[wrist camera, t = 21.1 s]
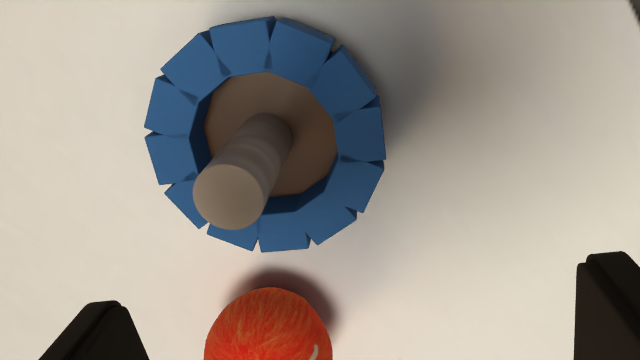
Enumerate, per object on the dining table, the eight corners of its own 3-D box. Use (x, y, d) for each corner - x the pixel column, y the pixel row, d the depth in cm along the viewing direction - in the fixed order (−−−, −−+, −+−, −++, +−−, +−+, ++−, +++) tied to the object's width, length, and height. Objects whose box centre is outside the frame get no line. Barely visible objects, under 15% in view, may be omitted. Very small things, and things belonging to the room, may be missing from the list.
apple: (309, 255, 32) (291, 310, 24) (351, 356, 33) (347, 440, 25) (206, 291, 33) (157, 354, 25) (250, 387, 34) (217, 476, 26)
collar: (368, 0, 23) (369, 1, 21) (392, 220, 27) (395, 241, 25) (136, 38, 25) (114, 43, 22) (195, 239, 29) (182, 260, 27)
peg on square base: (332, 40, 25) (315, 69, 16) (357, 189, 28) (354, 279, 20) (178, 68, 27) (87, 109, 18) (220, 207, 30) (160, 298, 21)
